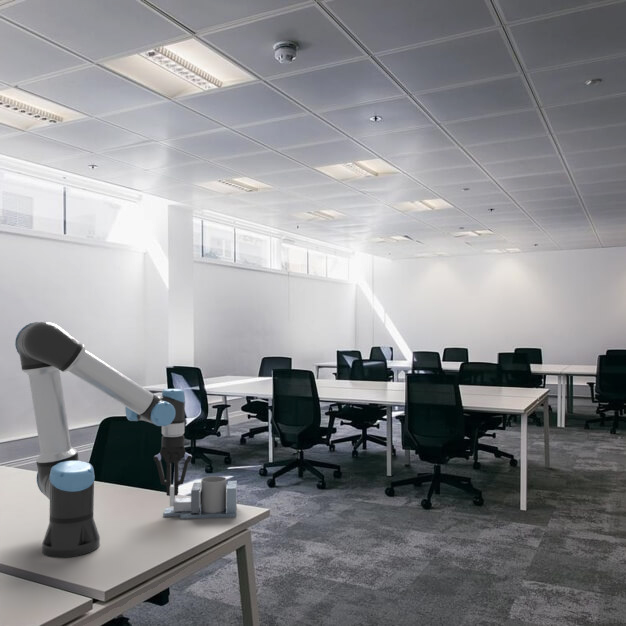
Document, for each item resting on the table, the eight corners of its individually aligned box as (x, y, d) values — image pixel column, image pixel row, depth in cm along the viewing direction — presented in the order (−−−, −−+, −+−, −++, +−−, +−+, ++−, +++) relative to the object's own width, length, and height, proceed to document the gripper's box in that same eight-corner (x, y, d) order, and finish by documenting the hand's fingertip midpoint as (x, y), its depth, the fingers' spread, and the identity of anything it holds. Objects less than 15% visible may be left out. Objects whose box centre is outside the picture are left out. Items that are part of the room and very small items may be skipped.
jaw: (199, 512, 195) (200, 490, 195) (172, 513, 194) (172, 490, 194) (202, 504, 205) (202, 482, 205) (176, 504, 204) (176, 483, 204)
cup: (222, 513, 196) (222, 482, 196) (198, 512, 197) (198, 482, 197) (228, 505, 204) (228, 476, 205) (205, 504, 205) (205, 475, 205)
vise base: (235, 517, 195) (236, 489, 196) (161, 519, 193) (162, 491, 193) (236, 506, 207) (236, 480, 208) (166, 508, 205) (167, 482, 205)
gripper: (193, 432, 204) (192, 501, 204) (155, 433, 203) (154, 502, 202) (191, 436, 197) (190, 507, 196) (151, 437, 195) (150, 509, 195)
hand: (172, 505), depth 199 cm, fingers closed
